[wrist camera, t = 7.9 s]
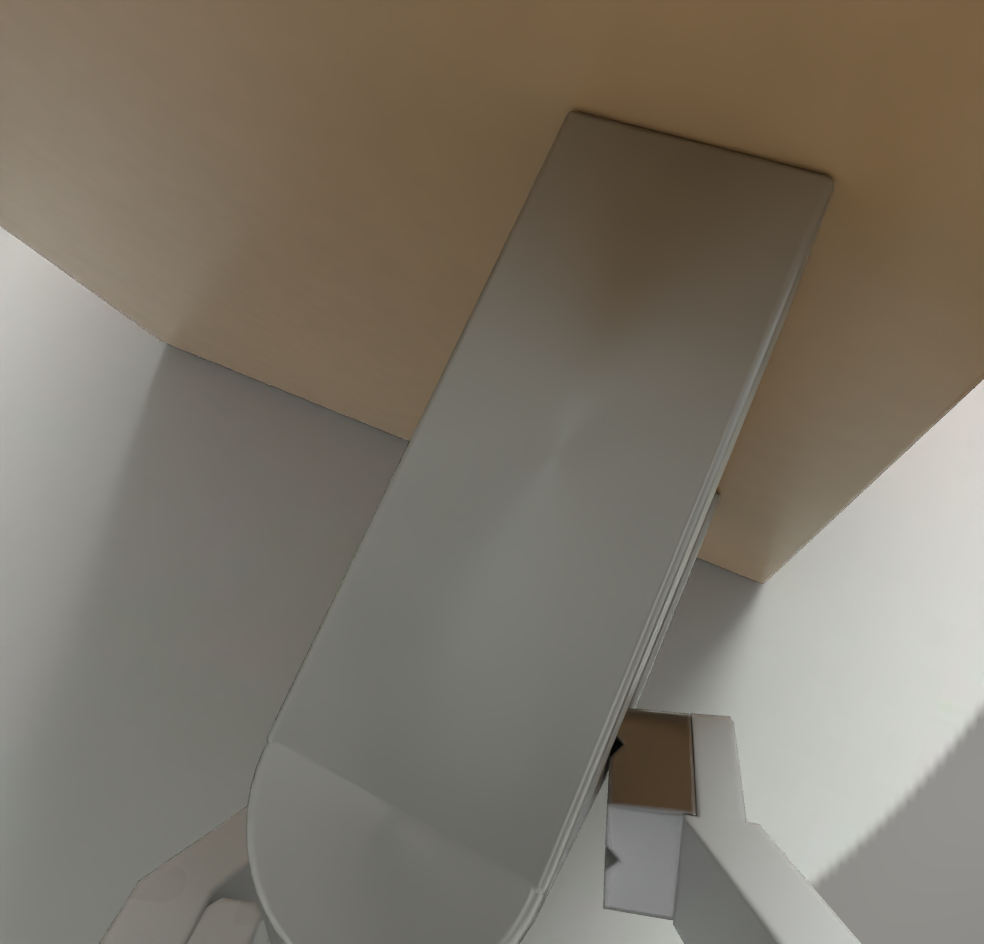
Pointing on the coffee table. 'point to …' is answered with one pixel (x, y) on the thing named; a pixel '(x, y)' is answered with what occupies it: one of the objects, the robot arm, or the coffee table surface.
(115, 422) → the coffee table surface
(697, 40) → the door
